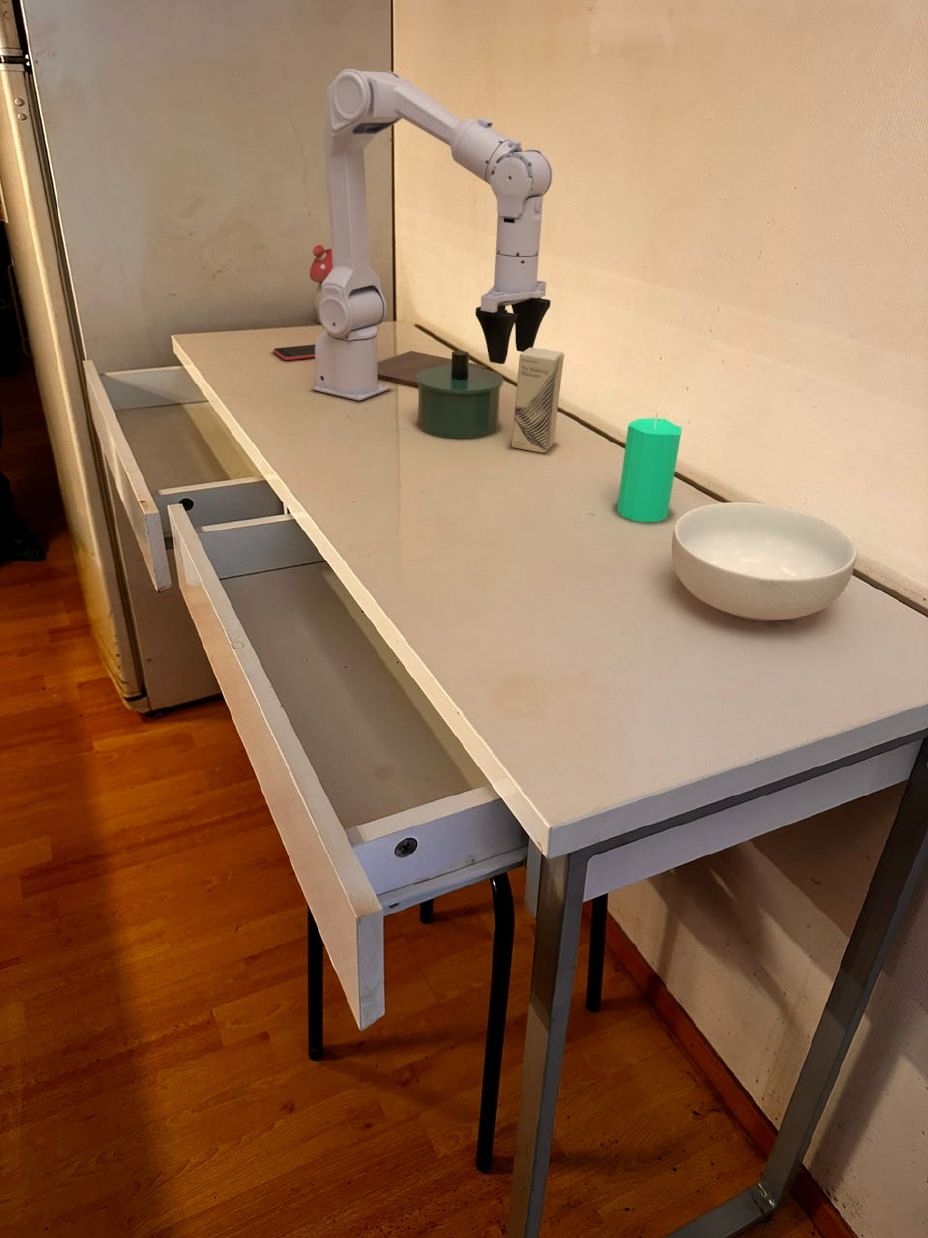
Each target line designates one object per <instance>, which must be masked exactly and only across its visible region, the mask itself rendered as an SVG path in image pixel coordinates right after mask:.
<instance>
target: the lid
mask: <svg viewBox="0 0 928 1238" xmlns="http://www.w3.org/2000/svg"><path fill="white" fill-rule="evenodd" d="M451 359H452V366H443V367H435V368H430V369H426V370H423V371H421V372H419V373H418V374H417V375H416V382H417V383H418V384H419V385H420V386H422V387H424V388H426V389H429V390H433V391H437V392H443V393H451V394H477V393H485V392H490V391H493V390H496V389H498V388H500V389H501V388H502V386H503V385H504V378H503V376H502V375H501V374H499V373H497V372H496V371H493V370H489V369H487V368H486V369H482V368H476V367H469V363H470V352H468V351H466V350H453V351H451Z"/></svg>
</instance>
